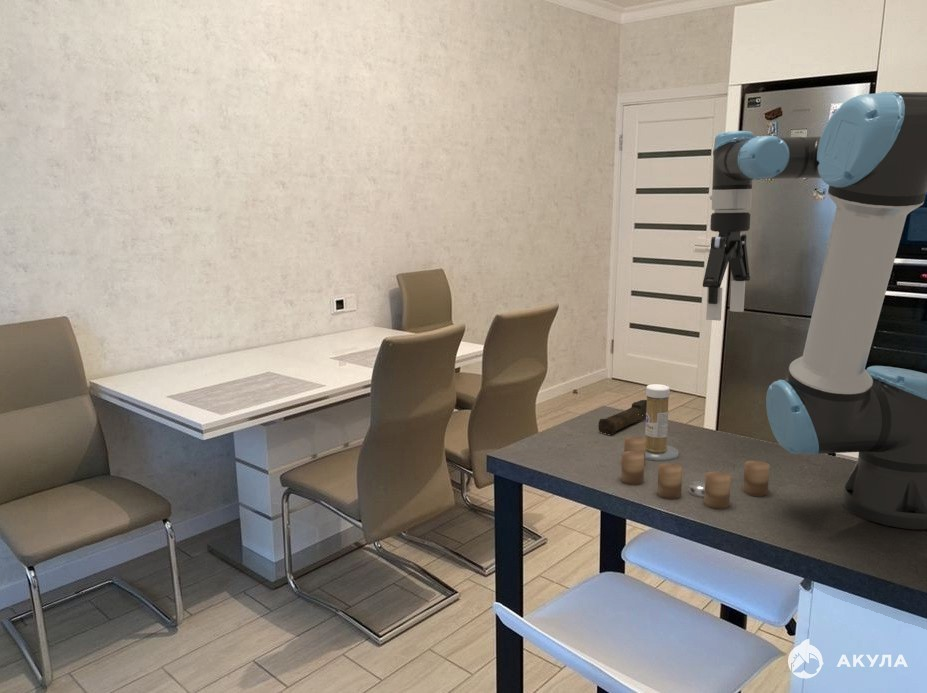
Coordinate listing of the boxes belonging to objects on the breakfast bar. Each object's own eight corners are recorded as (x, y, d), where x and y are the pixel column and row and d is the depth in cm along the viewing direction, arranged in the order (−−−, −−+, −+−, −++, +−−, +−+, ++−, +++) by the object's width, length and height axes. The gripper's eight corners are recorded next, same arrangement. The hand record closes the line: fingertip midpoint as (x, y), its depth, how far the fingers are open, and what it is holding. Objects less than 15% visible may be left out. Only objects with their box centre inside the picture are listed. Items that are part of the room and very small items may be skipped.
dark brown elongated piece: (612, 438, 155) (613, 417, 154) (597, 434, 158) (597, 414, 157) (658, 419, 168) (659, 400, 167) (643, 415, 171) (644, 397, 170)
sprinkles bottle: (639, 448, 145) (641, 384, 143) (658, 445, 147) (661, 382, 144) (652, 455, 141) (654, 389, 139) (672, 452, 143) (674, 387, 140)
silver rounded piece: (715, 492, 124) (716, 484, 124) (707, 500, 121) (707, 491, 121) (693, 487, 127) (693, 479, 127) (684, 494, 124) (685, 486, 123)
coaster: (688, 455, 142) (688, 452, 142) (655, 464, 138) (655, 461, 138) (655, 443, 150) (655, 440, 150) (623, 451, 146) (623, 448, 146)
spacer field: (772, 492, 123) (774, 465, 122) (700, 517, 114) (702, 488, 113) (662, 451, 145) (663, 428, 144) (594, 469, 136) (595, 444, 135)
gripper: (733, 210, 155) (728, 306, 159) (688, 213, 136) (684, 322, 140) (768, 210, 150) (763, 309, 154) (727, 212, 131) (722, 325, 135)
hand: (725, 315), depth 147 cm, fingers open, 13 cm apart
